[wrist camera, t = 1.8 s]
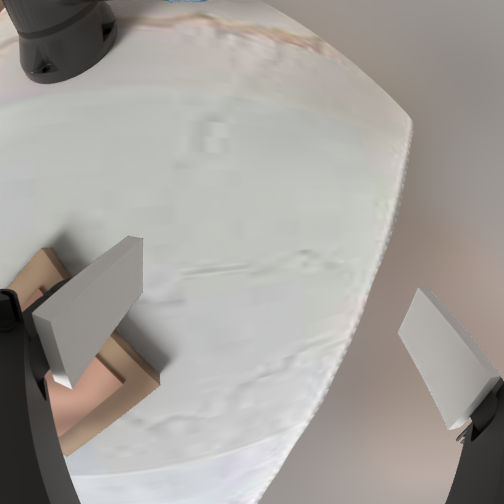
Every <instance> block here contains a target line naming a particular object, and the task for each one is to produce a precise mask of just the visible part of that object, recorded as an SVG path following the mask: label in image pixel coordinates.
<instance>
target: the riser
mask: <svg viewBox="0 0 504 504" xmlns="http://www.w3.org/2000/svg"><path fill="white" fill-rule="evenodd" d="M67 278H72V276H71V275H70V274H69V272H68V271H67V270H66V268H65V267H64V265H63V264H62V263H61V261H60V260H59V258H58V257H57V256H56V254H55V253H54V251H53V250H52V248H42V249H41V250H40V251H39V252H38V253H37V254H36V255H35V256H34V257H33V258H32V260H31V261H30V262H29V263H28V264H27V265H26V266H25V267H24V269H23V270H22V271H21V272H20V273H19V274H18V276H17V277H16V278H15V279H14V280H13V282H12V283H11V284H10V285H9V286H8V288H7V289H11V290H14V291H15V292H16V293H17V295H18V299H19V303H20V306H21V310H22V312H23V311H24V310H25V309H27V308H28V307H29V306H30V305H31V304H32V303H33V302H35V301H36V300H37V299H38V298H39V297H41V296H43V294H44V293H45V292H47V291H49V289H50V288H52V287H53V286H54V285H55V284H57V283H58V282H60V281H63V280H65V279H67ZM45 379H46V381H47V385H48V392H49V398H50V403H51V408H52V413H53V418H54V423H55V427H56V431H57V435H58V439H59V443H60V446H61V450H62V453H63V454H64V455H65V456H69V455H70V454H72V453H73V452H74V451H76V450H77V449H78V448H80V447H81V446H83V445H84V444H85V443H87V442H88V441H89V440H91V439H92V438H93V437H95V436H96V435H97V434H99V433H100V432H101V431H103V430H104V429H105V428H107V427H108V426H109V425H111V424H112V423H113V422H114V421H116V420H117V419H118V418H120V417H121V416H122V415H124V414H125V413H126V412H127V411H129V410H130V409H131V408H132V407H134V406H135V405H136V404H138V403H139V402H140V401H141V400H143V399H144V398H145V397H146V396H148V395H149V394H150V393H151V392H153V391H154V390H155V389H156V388H157V387H159V386H160V375H159V373H158V372H157V371H155V370H154V369H153V368H152V367H151V366H150V365H149V364H148V363H147V362H146V361H145V360H144V359H143V358H142V357H141V356H140V355H139V354H138V353H137V352H136V351H135V350H134V349H133V348H132V347H131V346H130V345H129V344H128V343H127V342H126V341H125V339H124V338H123V337H122V336H121V335H120V334H119V333H118V332H117V331H116V330H115V329H114V331H113V332H112V334H111V335H110V336H109V338H108V339H107V340H106V342H105V343H104V345H103V346H102V347H101V349H100V350H99V352H98V353H97V354H96V356H95V357H94V359H93V360H92V362H91V363H90V364H89V366H88V367H87V369H86V370H85V372H84V373H83V375H82V376H81V378H80V379H79V381H78V382H77V384H76V385H75V387H74V388H73V390H72V389H70V388H68V387H66V386H64V385H62V384H60V383H58V382H56V381H54V378H53V376H52V373H51V371H50V369H49V371H48V372H47V373H46V375H45Z"/></svg>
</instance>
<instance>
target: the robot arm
mask: <svg viewBox="0 0 504 504" xmlns="http://www.w3.org/2000/svg"><path fill="white" fill-rule="evenodd" d="M2 1H3V4H4V6H5V8H6V10H7V12H8V14H9V16H10V18H11V20H12V22H13V24H14V26H15V28H16V30H17V32H18V34H19V47H20V63H21V66H22V68H23V70H24V72H25V73H26V75H27V76H28V78H29V79H31V80H32V81H34V82H37V83H41V84H51V83H57V82H61V81H65V80H67V79H70V78H72V77H75V76H77V75H79V74H81V73H82V72H84V71H86V70H87V69H89V68H90V67H92V66H93V65H94V64H96V63H97V62H98V61H99V60H100V59H101V58H102V57H103V56H104V55H105V54H106V53H107V52H108V51H109V49H110V48H111V46H112V45H113V43H114V41H115V38H116V34H117V25H116V17H115V15H114V13H113V11H112V10H111V8H110V7H109V5H108V4H107V2H106V1H107V0H2ZM173 1H186V2H205V1H207V0H166V2H173ZM142 293H143V238H137V237H132V236H127V237H126V238H124V239H123V240H122V241H120V242H119V243H118V244H116V245H115V246H114V247H112V248H111V249H110V250H108V251H107V252H106V253H104V254H103V255H102V256H100V257H99V258H98V259H96V260H95V261H94V262H92V263H91V264H90V265H89V266H87V267H86V268H85V269H83V270H82V271H81V272H80V273H78V274H77V275H76V276H75V277H73V278H67V279H65V280H63V281H60V282H58V283H57V284H55V285H54V286H53V287H52V288H50V289H49V291H47V292H45V293H44V294H43V296H41V297H39V298H38V299H37V300H36V301H35V302H33V303H32V304H31V305H30V306H29V307H28V308H27V309H25V310H24V311H23V312H22V310H21V306H20V303H19V299H18V295H17V293H16V292H15V291H14V290H11V289H0V504H81V503H80V501H79V498H78V496H77V493H76V491H75V488H74V486H73V483H72V480H71V478H70V475H69V472H68V469H67V466H66V463H65V460H64V457H63V453H62V450H61V446H60V443H59V439H58V435H57V431H56V427H55V423H54V418H53V413H52V408H51V403H50V398H49V392H48V385H47V381H46V379H45V375H46V373H47V372H48V371H49V369H50V371H51V373H52V376H53V378H54V381H56V382H58V383H60V384H62V385H64V386H66V387H68V388H70V389H72V390H73V388H74V387H75V385H76V384H77V382H78V381H79V379H80V378H81V376H82V375H83V373H84V372H85V370H86V369H87V367H88V366H89V364H90V363H91V362H92V360H93V359H94V357H95V356H96V354H97V353H98V352H99V350H100V349H101V347H102V346H103V345H104V343H105V342H106V340H107V339H108V338H109V336H110V335H111V334H112V332H113V331H114V329H115V328H116V327H117V325H118V324H119V323H120V321H121V320H122V319H123V317H124V316H125V315H126V313H127V312H128V311H129V309H130V308H131V307H132V305H133V304H134V303H135V302H136V300H137V299H138V298H139V296H140V295H141V294H142ZM398 334H399V336H400V338H401V339H402V341H403V343H404V345H405V347H406V348H407V350H408V352H409V354H410V355H411V357H412V359H413V361H414V362H415V365H416V366H417V368H418V370H419V372H420V374H421V376H422V378H423V380H424V381H425V383H426V385H427V387H428V389H429V391H430V393H431V395H432V397H433V399H434V401H435V403H436V405H437V407H438V409H439V411H440V414H441V415H442V418H443V420H444V422H445V424H446V426H447V429H448V430H450V429H454V428H458V427H461V426H462V425H463V424H464V423H465V421H466V420H467V419H468V418H469V417H470V418H471V419H472V422H471V424H470V425H469V426H468V427H467V428H466V429H465V430H464V431H463V432H462V433H461V434H460V435H459V436H458V437H457V439H456V441H459V440H460V439H461V438H462V437H465V438H464V439H463V440H462V441H461V443H462V444H464V445H463V449H462V453H461V457H460V461H459V464H458V468H457V471H456V474H455V478H454V481H453V484H452V487H451V490H450V492H449V495H448V498H447V501H446V503H445V504H504V381H503V379H502V378H501V375H500V373H499V372H498V370H497V369H496V368H495V366H494V365H493V364H492V363H491V361H490V360H489V358H488V357H487V356H486V354H484V352H483V351H482V350H481V348H480V347H479V346H478V344H477V343H476V342H475V341H474V339H473V338H472V337H471V336H470V334H469V333H468V332H467V331H466V330H465V328H463V326H462V325H461V324H460V323H459V322H458V320H457V319H456V318H455V317H454V316H453V315H452V314H451V312H450V311H449V310H448V309H447V308H446V307H445V306H444V304H443V303H441V301H440V300H439V299H438V298H437V297H436V296H435V295H434V294H433V293H432V292H431V290H430V289H426V288H420V287H418V289H417V291H416V294H415V296H414V298H413V301H412V303H411V305H410V307H409V310H408V312H407V314H406V316H405V319H404V321H403V323H402V325H401V327H400V329H399V331H398Z"/></svg>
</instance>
